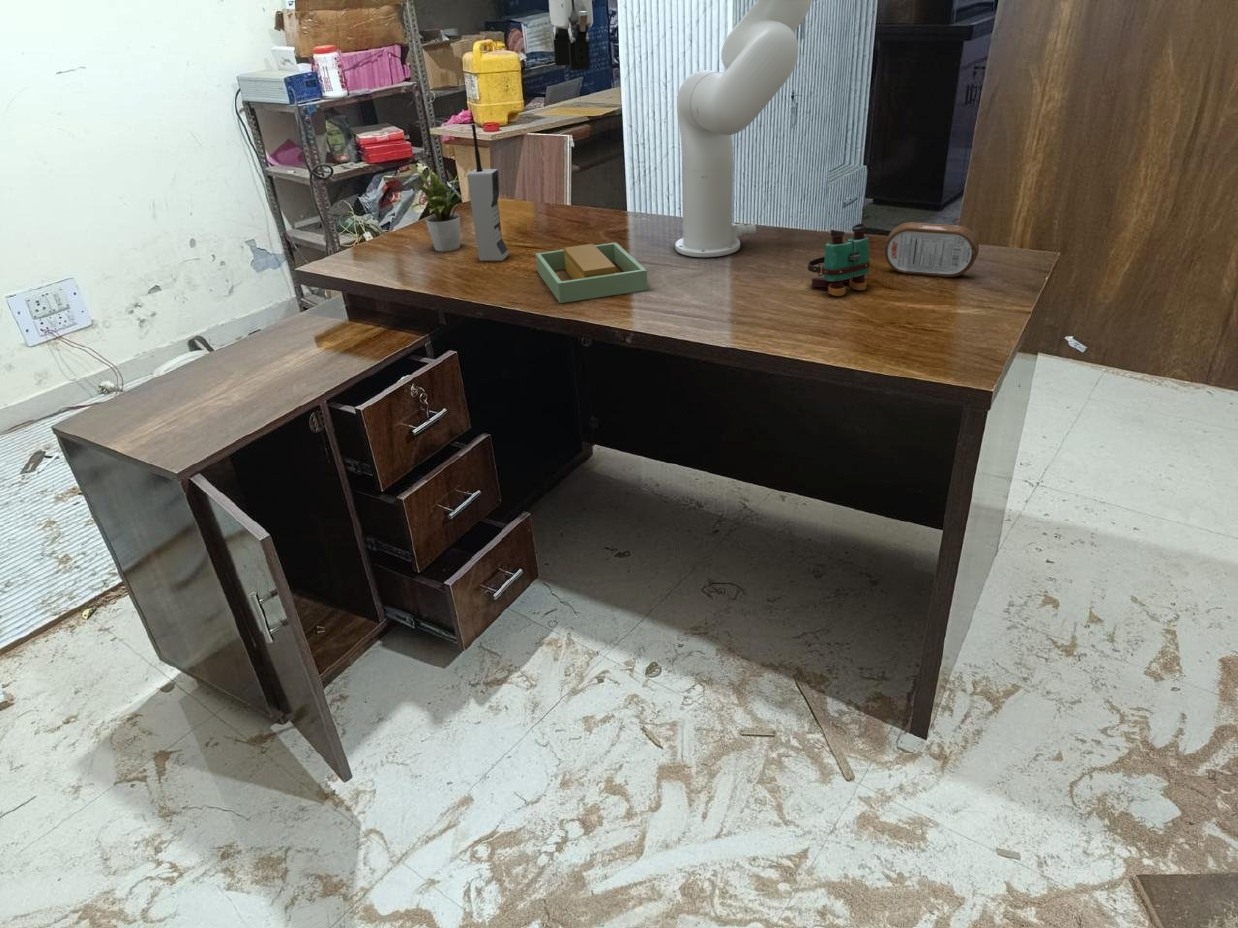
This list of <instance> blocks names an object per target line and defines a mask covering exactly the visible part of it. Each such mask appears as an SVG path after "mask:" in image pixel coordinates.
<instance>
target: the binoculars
mask: <svg viewBox="0 0 1238 928" xmlns="http://www.w3.org/2000/svg"><path fill="white" fill-rule="evenodd" d="M866 230H867V223H865V222H861V223H856V224H855V225H853V226H852V232H853V237H851V238H848V240H847V241H846V240H843V239H844V236H845V231H842V230H836V229H830V237H832V239H831V240H832V242H827V243H826V244H825V249H824V256H821V257H817V258H814V259H812V260H810V261H809V262H808V263H807V270H808V271H809V272H811V273H816V274H817V276H818V277H812V278H811V287H822V288H827V292H828V294H829V295H832V296H835V297H840V296H841V297H842V296H844V295H845V294H846V286H845V285H844V284H847V283H848V286H849V287H850V288H851V289H853V290H856V291H865V290H867V287H868V286H867V284H868V282H867V280H865V275H867V274H869V273H870V265H871V261H870V246H869V245H870V243H869V237H868V236H865V232H866ZM822 276H823V277H822Z"/></svg>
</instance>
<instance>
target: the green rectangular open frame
mask: <svg viewBox="0 0 1238 928" xmlns="http://www.w3.org/2000/svg"><path fill="white" fill-rule="evenodd" d="M594 245H595V246H596V247H597V248H598V249H599V250H600V251H601V252H602V253H603V254H604V255H605V256H606V257H607V258H608V259H609V260H610V261H611V262H612V263H614V264H616V265H617V267H619V269H621V270H622V272H616V273H615V274H609V275H602V276H595V277H588V278H581V279H575V280H573V279H569V280H561V279H560V278H559V276H558V274H556V272H555V271H563V270H566V268H565V257H564V249H558V250H552V251H544V252H537V253H535V260H536V270H537V273H538V274H539V275H540V277H541V279H542V280H543V282H544V283H545V284H546V286H547V287H548V288H549V290H550V291H551V293H552V294H553V296H554V297H555V298H556V300H557V301H558V303H559V304H566V303H572V302H579V301H584V300H585V301H586V300H591V299H598V298H605V297H612V296H616V295H623V294H624V295H625V294H630V293H636V292H637V293H638V292H643V291H648V289H649V288H648V270H647V269H646V268H645V267H644V266H643V265H641V264H640V263H639V262H638V261H637V260H636V258H634V257H633V256H632V255H631V254H629V252H627V251H626V250H625V249H624V248H623V247H622V246H621V245H620V244H618V243H617V242H616V241H615V242H608V243H600V244H594Z"/></svg>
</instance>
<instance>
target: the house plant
mask: <svg viewBox="0 0 1238 928" xmlns="http://www.w3.org/2000/svg"><path fill="white" fill-rule="evenodd" d="M441 167H442V166H440V168H439V170H438V172H437V173H434V172H433V171H432V169H431V168H430V169H429V181H430V183H429V181H428V179H427V178H426V176H425V174H424V173H422V172H421V171H418V170H415V169H414V170H413V171H414V172H416V173H418V175H419V176H420V177H421V179H422V181H423V184H424V185H425V186H424V185H419V184H417V183H416V182H414V180H413V181H412V180H410V179H407V178H406V179H405V178H402V180H405V181H409V182H412V183H414V185H413V184H412V183H410V185H411V186H412V187H415V188H416V190H420V193H421V194H422V195H423V196H424V197H422V200H424V201H426V202H427V203H428V204H425V203H417V202H416V201H412V200H410V202H411V203H415V204H413V205H412V206H411V208H410V210H409V211H410V212H411V211H412V210H413V209H414V208H416V207H418V206H419V207H420V208H422V209H424V210H425V208H424V207H422V206H426V207H428V210H429V211H428V210H426V212H427V213H429V214H430V215H429V216H427V217H426V218H425V223H426V227H427V229H428V233H429V236H430V238H431V241H432V245H433V247H434V250H435V251H437V252H450V251H451V252H452V251H455V250H458V249H459V248H460V247H461V215H460V214H458V213H455V212H456V210H457V209H458V208H459V207H460V206H461V205H462V204H463V205H464V204H466V203H469V202H470V201H469V202H468V201H463V202H460V203H459V204H458V205H457V206H456V207H455V205H456V203H457V202H458V201H460V200H462V199H464V198H463V197H455V198H453V197H454V195H455V194H456V193H459V191H456V187H457V186H455V187H454V185H455V183H456V181H457V179H458V176H459V174H457V175H456V177H455V178H454V180H453V182H452V185H451V187H450V190H449V192H448V195H447V188H446V182H441V179H440V170H441ZM464 178H467V175H466V176H464V177H463V179H464ZM459 184H460V182H458V183H457V185H459ZM418 187H419V188H418ZM469 204H470V203H469ZM454 207H455V208H454ZM453 208H454V209H453ZM452 210H453V211H452ZM432 212H433V213H434V214H432Z"/></svg>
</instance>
